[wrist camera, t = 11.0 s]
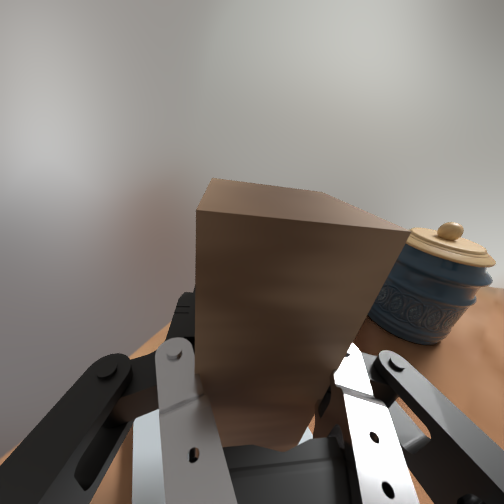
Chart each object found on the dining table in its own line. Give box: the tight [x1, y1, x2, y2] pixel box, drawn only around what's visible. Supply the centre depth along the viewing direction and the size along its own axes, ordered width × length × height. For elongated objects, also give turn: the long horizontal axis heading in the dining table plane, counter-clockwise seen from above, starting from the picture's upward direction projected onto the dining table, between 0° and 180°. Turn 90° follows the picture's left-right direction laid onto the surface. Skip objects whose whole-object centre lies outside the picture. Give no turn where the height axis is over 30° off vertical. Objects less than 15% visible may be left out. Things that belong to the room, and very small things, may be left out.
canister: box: [367, 222, 496, 345], centre depth 31 cm, size 13×13×18 cm
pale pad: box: [132, 409, 313, 504], centre depth 16 cm, size 14×14×1 cm
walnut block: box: [194, 178, 411, 452], centre depth 10 cm, size 5×5×14 cm
